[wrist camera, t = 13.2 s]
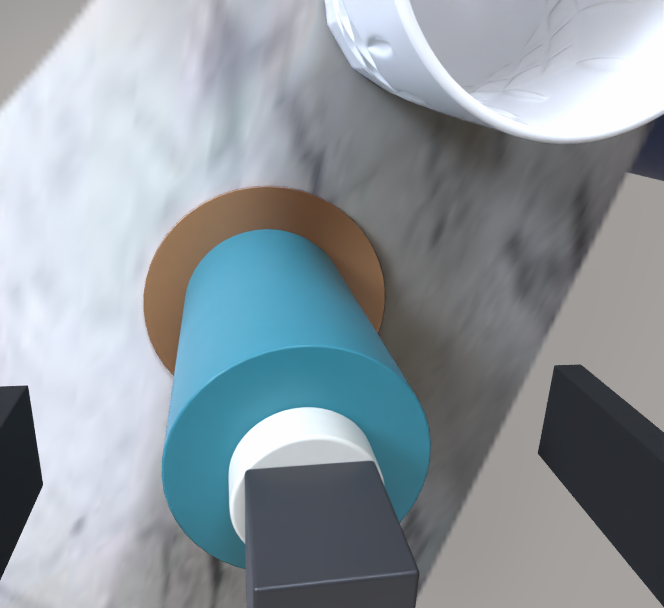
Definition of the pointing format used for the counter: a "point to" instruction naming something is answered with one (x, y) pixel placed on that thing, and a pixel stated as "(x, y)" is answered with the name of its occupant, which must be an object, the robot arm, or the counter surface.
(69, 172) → the counter surface
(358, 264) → the coaster
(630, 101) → the white cup
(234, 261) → the spray bottle
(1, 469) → the robot arm
